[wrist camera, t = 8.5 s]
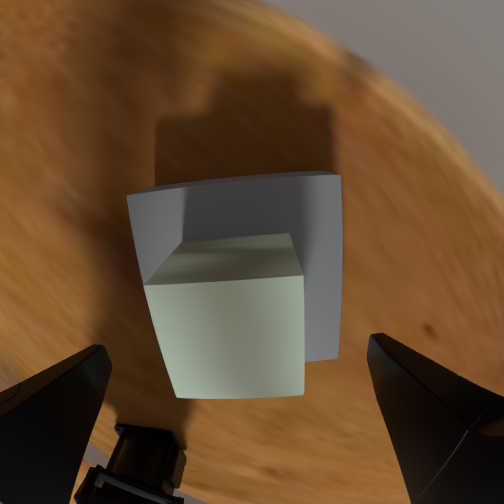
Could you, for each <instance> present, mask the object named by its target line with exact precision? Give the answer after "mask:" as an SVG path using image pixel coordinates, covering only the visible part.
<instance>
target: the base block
mask: <svg viewBox="0 0 504 504" xmlns="http://www.w3.org/2000/svg"><path fill="white" fill-rule="evenodd" d="M126 197H127V203H128V210H129V216H130V222H131V227H132V233H133V238H134V243H135V248H136V253H137V258H138V263H139V268H140V272H141V277H142V281H143V285H144V284H145V283H146V282H147V281H148V280H149V279H150V277H151V276H152V275H153V274H154V273H155V272H156V270H157V269H158V268H159V267H160V266H161V265H162V264H163V262H164V261H165V260H166V259H167V258H168V257H169V256H170V254H171V253H172V252H173V251H174V250H175V249H176V248H177V247H178V245H179V244H180V243H181V242H184V241H196V240H207V239H219V238H231V237H243V236H255V235H268V234H281V233H289V234H290V237H291V240H292V243H293V246H294V248H295V251H296V254H297V257H298V260H299V263H300V266H301V269H302V272H303V275H304V330H305V358H304V362H310V361H320V360H328V359H337V358H338V348H339V335H340V319H341V298H342V260H343V228H342V190H341V175H340V174H336V173H332V172H328V171H324V170H320V171H300V172H284V173H270V174H257V175H246V176H235V177H225V178H216V179H207V180H199V181H191V182H183V183H175V184H168V185H161V186H155V187H151V188H148V189H145V190H142V191H139V192H136V193H133V194H130V195H127V196H126Z"/></svg>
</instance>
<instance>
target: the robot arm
mask: <svg viewBox="0 0 504 504" xmlns="http://www.w3.org/2000/svg"><path fill="white" fill-rule="evenodd" d="M367 362H368V366H369V370H370V374H371V378H372V382H373V386H374V391H375V395H376V399H377V402H378V404H379V407H380V410H381V413H382V415H383V418H384V421H385V424H386V427H387V430H388V432H389V435H390V438H391V441H392V444H393V447H394V450H395V453H396V456H397V459H398V462H399V465H400V468H401V472H402V475H403V478H404V481H405V485H406V488H407V491H408V495H409V498H410V501H411V504H504V397H503V396H501V395H499V394H496V393H494V392H492V391H489V390H487V389H485V388H483V387H480V386H478V385H477V384H475V383H473V382H471V381H469V380H467V379H465V378H463V377H462V376H458V374H456V373H454V372H452V371H451V370H449V369H447V368H445V367H443V366H441V365H440V364H438V363H436V362H434V361H432V360H431V359H429V358H427V357H425V356H423V355H422V354H420V353H418V352H416V351H415V350H413V349H411V348H409V347H407V346H406V345H404V344H402V343H400V342H398V341H397V340H395V339H393V338H391V337H389V336H388V335H386V334H384V333H376V334H371V335H370V338H369V344H368V351H367ZM111 371H112V363H111V360H110V358H109V355H108V353H107V350H106V348H105V347H104V346H103V345H97V344H94V345H91V346H89V347H88V348H86V349H84V350H82V351H80V352H78V353H76V354H74V355H72V356H70V357H68V358H66V359H65V360H63V361H61V362H59V363H57V364H55V365H53V366H51V367H49V368H47V369H45V370H43V371H41V372H40V373H38V374H36V375H34V376H32V377H30V378H28V379H26V380H24V381H22V382H20V383H18V384H16V385H14V386H12V387H10V388H8V389H6V390H4V391H2V392H0V504H69V502H70V499H71V495H72V491H73V488H74V485H75V481H76V478H77V475H78V472H79V468H80V465H81V462H82V459H83V456H84V453H85V450H86V447H87V444H88V441H89V439H90V436H91V433H92V430H93V427H94V425H95V422H96V419H97V416H98V414H99V411H100V409H101V406H102V403H103V400H104V396H105V392H106V389H107V385H108V381H109V378H110V374H111ZM114 429H115V431H116V432H117V434H118V435H119V439H118V441H117V444H116V446H115V448H114V451H113V453H112V455H111V458H110V460H109V462H108V465H107V467H106V469H105V468H103V467H102V466H100V465H97V466H96V468H93V467H90V468H89V470H88V473H87V475H86V477H85V479H84V481H83V482H82V484H81V485H80V487H79V489H78V490H77V492H76V493H75V495H74V500H75V502H76V504H184V498H181V497H175V496H173V493H174V488H175V489H178V488H179V487H180V484H181V480H182V475H183V471H184V466H185V465H186V458H185V456H184V454H183V452H182V450H181V448H180V447H179V446H178V444H177V442H176V440H175V437H174V435H173V434H172V432H170V431H166V430H156V429H148V428H141V427H134V426H127V425H121V424H116V425H115V427H114ZM98 485H100V486H102V487H101V488H100V487H98Z"/></svg>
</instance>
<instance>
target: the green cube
mask: <svg viewBox="0 0 504 504" xmlns="http://www.w3.org/2000/svg"><path fill="white" fill-rule="evenodd" d="M144 290H145V294H146V298H147V302H148V306H149V310H150V313H151V317H152V321H153V325H154V328H155V332H156V335H157V339H158V342H159V345H160V349H161V352H162V355H163V358H164V362H165V365H166V368H167V371H168V374H169V377H170V380H171V383H172V386H173V389H174V391H175V394H176V397H177V398H197V399H244V398H268V397H283V396H296V395H304V358H305V330H304V275H303V272H302V269H301V266H300V263H299V260H298V257H297V254H296V251H295V248H294V246H293V243H292V240H291V237H290V234H289V233H281V234H268V235H255V236H243V237H231V238H219V239H207V240H196V241H184V242H181V243H180V244H179V245H178V247H177V248H176V249H175V250H174V251H173V252H172V253H171V254H170V256H169V257H168V258H167V259H166V260H165V261H164V262H163V264H162V265H161V266H160V267H159V268H158V269H157V270H156V272H155V273H154V274H153V275H152V276H151V277H150V279H149V280H148V281H147V282H146V283H145V284H144Z"/></svg>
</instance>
